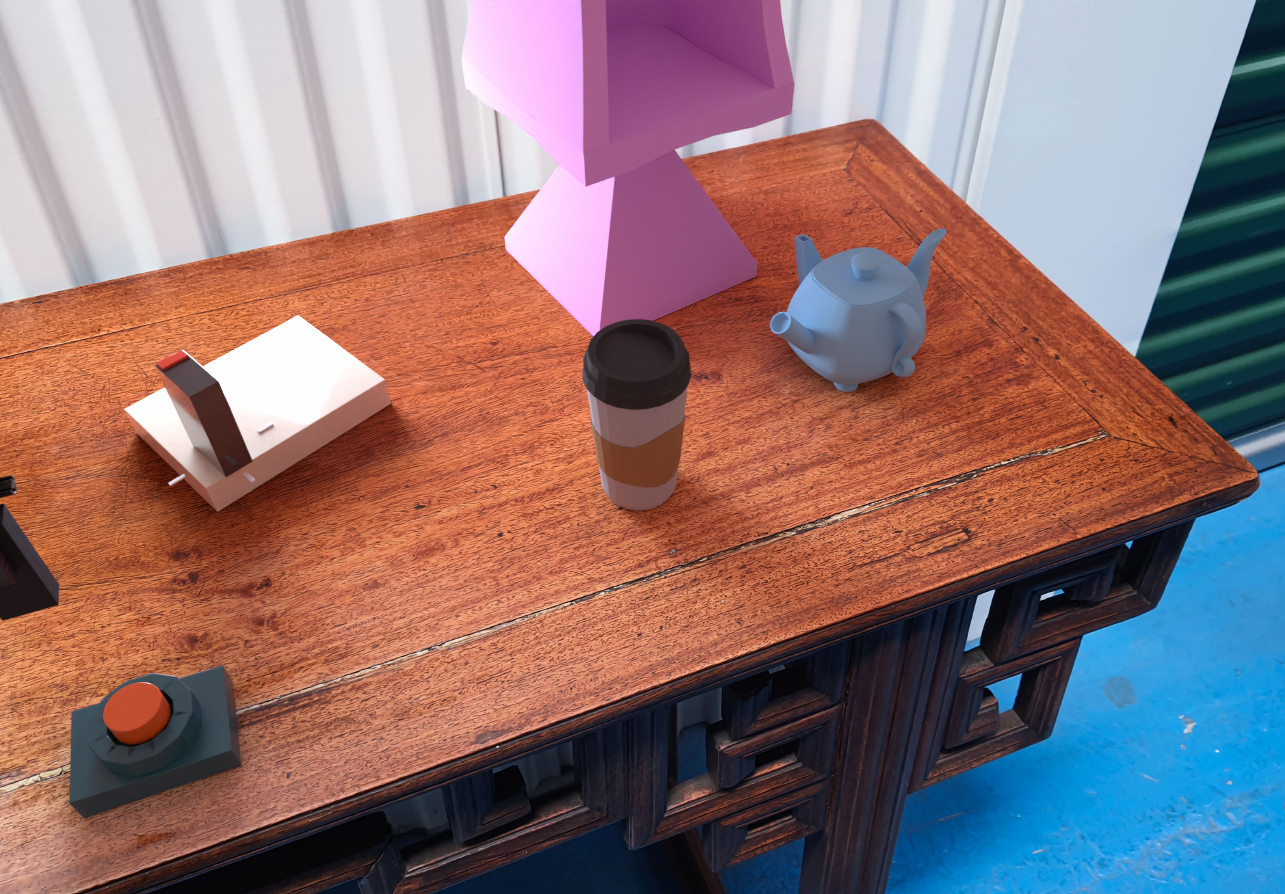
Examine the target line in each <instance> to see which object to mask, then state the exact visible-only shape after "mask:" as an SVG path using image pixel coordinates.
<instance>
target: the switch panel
mask: <svg viewBox="0 0 1285 894" xmlns="http://www.w3.org/2000/svg"><path fill="white" fill-rule="evenodd" d="M202 367H203V368H205V369H206V370H207V371H208V372H209V373H210V374H211V375H213V376H214V377H215V378H216V379H217V380H218V381H219V382H220V385H221V387H222V389H223V392H224V394H225V396H226V399H227V401H228V404H229V406H230V408H231V411H232V413H233V415H234V418H235V420H236V423H237V425H238V427H239V430H240V432H241V434H242V437H243V439H244V441H245V444H246V446H247V449H248V451H249V453H250V456H251V458H252V460H253V462H251V463H249V464H248V465H246V466H244V467H243V468H241V469H239V470H238V471H236V472H234V473H233V474H231V475H230V476H228V477H225V476H224V475H223V474H222V473H221V472H220V471H219V470H218V469H217V468H216V467H215V466H214V465H213V464H212V463H211V462H210V461H209V460H207V459H206V458H205V457H204V456H203V455H202V454H201V453H200V452H199V451H198V450H197V449H196V448H195V447H194V446H193V445H192V443H191V441H190V439H189V437H188V435H187V433H186V430H185V428H184V426H183V424H182V422H181V420H180V418H179V416H178V414H177V412H176V409H175V407H174V405H173V403H172V401H171V399H170V397H169V395H168V393H167V391H166V389H165V386H163V388H161V389H159V390H157V391H155V392H153V393H151V394H149V395H148V396H146V397H144V398H142V399H141V400H139V401H136V402H135V403H132V404H131V405H129V406H127V407H125V408H124V409H123V411H124V412H125V414H126V416H127V418H128V420H129V422H130V423H131V426H132V428H133V429H134V431H135V434H137V435H138V436H139V437H140V438H141V439H142V440H143V442H145V444H147V445H148V446H149V447H150V448H151V449H152V450H153V451H154V452H155V453H156V454H157V455H158V456H159V457H160V458H161V459H162V460H164V462H165V463H166V464H168V466H170V467H171V469H173V470H174V471H175V473H177V474H178V475H179V476H177V477H176V478H173V479H172V480H171V481H169V482H168V483H167V484H168V485H169V486H170V487H172V486H174V485H176V484H177V483H179V482H181V481H183V480H184V481H185V482H186V483H187V484H188V485H189V486H190V487H191V488H192V489H193V490H194V491H195V492H196V493H198V495H199V496H200V497H202V499H204V501H205V502H206V503H208V504H209V505H210V506H211V507H212V508H213V509H214V510H215V511H216V513H217V512H220V511H222V510H223V509H225V508H227V507H228V506H229V505H231V504H232V503H234V502H236V501H238V500H239V499H241V498H243V497H244V496H245V495H247V494H249V493H250V492H253V491H254V490H255V489H257V488H258V487H260V486H262V485H264V484H265V483H266V482H268V481H269V480H272V479H273V478H274V477H276V476H278V475H279V474H281V473H282V472H284V471H285V470H287V469H289V468H290V467H292V466H293V465H295V464H297V463H298V462H300V461H301V460H304V459H305V458H307V457H308V456H310V455H312V454H313V453H314V452H316V451H318V450H319V449H321V448H322V447H324V446H326V445H327V444H329V443H330V442H332V441H334V440H335V439H337V438H339V437H340V436H342V435H343V434H345V433H346V432H348V431H350V430H351V429H353V428H354V427H356V426H358V425H359V424H361V423H362V422H364V421H366V420H367V419H369V418H370V417H372V416H374V415H375V414H377V413H378V412H380V411H382V410H383V409H385V408H387V407H388V406H390V405H391V404H392V401H391V395H390V393H389V389H388V385H387V382H386V381H387V380H386V379H385V378H384V377H383V376H381V375H379V373H377V372H376V371H374V370H373V369H371V368H370V366H367V365H366V364H365V363H364V362H362V361H361V360H359V358H357V357H356V356H354V355H353V354H351V353H350V352H348V351H347V350H346V349H345V348H343V347H341V346H340V345H339V344H338V343H336V342H335V341H333V340H332V339H331V338H329V337H328V336H327V335H325V334H324V333H322V332H321V331H320V330H319V329H318V328H316V327H314V326H313V325H312V324H310V323H309V322H307V321H306V320H305V319H303V318H302V317H301V316H300V315H296V316H294V317H293V318H290V319H289V320H288V321H286V322H283V323H282V324H280V325H278V326H276V327H274V328H272V329H271V330H269V331H267V332H265V333H263V334H260V335H259V336H258V337H256V338H254V339H252V340H250V341H248V342H246V343H244V344H242V345H240V346H239V347H237V348H235V349H234V350H231V351H229V352H228V353H226V354H224V355H222V356H220V357H218V358H216V359H214V360H213V361H211V362H209V363H208V364H205V365H204V366H202Z"/></svg>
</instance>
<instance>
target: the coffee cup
mask: <svg viewBox="0 0 1285 894" xmlns="http://www.w3.org/2000/svg"><path fill="white" fill-rule="evenodd" d="M581 374H582V381H583V384H584V386H585V388H586V389H585V390H586V394H587V400H588V407H589V413H590V427H591V432H592V438H593V444H594V445H593V446H594V451H595V458H596V462H597V464H598V469H599V470H598V471H599V475H600V483H601V486H602V489H603V493H605V495H606V496H607V497H608V498H609V499H610V500H611V502H613V504H616V505H617V506H618V507H621V508H623V509H625V510H629V511H630V510H631V511H637V512H638V511H649V510H652V509H655V508H657V507H659V506H661V505H662V504H664V503H665V502H666V501H667V500H669V498H670V497H671V496H672V495H673V493H674V491H675V490H676V486H677V484H678V483H677V482H678V474H679V467H680V466H679V465H680V461H681V457H682V447H683V439H684V432H685V431H684V430H685V421H686V404H687V396H688V386H689V385H690V383H691V378H692V368H691V359H690V353H689V350H688V349H687V347H686V346H685V343H684V341H683V339H682V337H681V335H680V334H679V333H678V332H676V331H675V329H673V328H672V327H670V326H668V325H666V324H664V323H661V322H658V321H655V320H653V321H652V320H644V319H630V320H624V321H619V322H615V323H613V324H610V325H608V326H606V327H604V328H603V329H601V330H600V331H598V332H597V333H596V334H595V335H594V336H593V335H592V338H590V340H589V343H588V346H587V348H586V349H585V353H584V356H583V359H582V373H581Z"/></svg>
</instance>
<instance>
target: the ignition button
mask: <svg viewBox="0 0 1285 894" xmlns="http://www.w3.org/2000/svg"><path fill="white" fill-rule="evenodd" d="M170 712H171V710H170V705H169V703H168V702H167V700H166V699H165V697H164V696H163V694H162V693H161V691H160V690H159V689H158V688H157V687H156V686H155V685H153V684H150V683H145V682H139V683H134V684H130V685H128V686H126V687H124V688H122V689H120V690H119V691H117V692H116V693H115V694H114V695H113V696H112V697H111V698H110V699H109V701H108V702H107V704H106V706H105V709H104V713H103V719H104V722H105V724H106V726H107V727H108V728H109V729H110V731H111V732H112V733H113V734H114V736H115V737H116V738H117V739H118V740H119V741H120V742H122V743H125V744H140V743H144V742H146V741H149V740H151V739H152V738H154V737H155V736H157V735H158V734H159V733H160V732H161V731H162V730H163V729H164V728H165V726H166V725H167V723H168V721H169V718H170Z"/></svg>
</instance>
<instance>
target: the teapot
mask: <svg viewBox="0 0 1285 894" xmlns="http://www.w3.org/2000/svg"><path fill="white" fill-rule="evenodd" d="M946 234H947V229H946V228H944V227H942V228H938V229H935V230H933V231H931V232H930V233H929V234H928V235H927V236H926V237H924V239H923V240H922V241H921V242H920V244H919V246H918V247H917V249H916V251H915V252H914V254H913V256H912V257H911V259H910V261H909V262H908V264H907V265H905V264H903V263H902V262H901V261H899V260H898V259H896V258H895V257H893V256H892V255H890V254H888V253H887V252H885V251H883V250H881V249H878V248H876V247H869V246H865V247H863V246H862V247H856V248H851V249H847V250H843V251H840V252H838V253H834V254H833V255H830V256H828V257H827V258H825V259H823V258H822V257H821V254H820V252H819V251H818V249H817V247H816V245H815V243H814V242H813V241H814V239H813V238H811V237H809V236H808V235H806V233H802V234H799V235H796V236H794V237H793V238H794V239H793V240H794V250H795V251H794V252H795V259H796V269H797V280H798V287H797V289H796V291H795V292H794V294H793V295H792V298H791V300H790V302H789V304H788V307H787V309H786V311H779V312H776V313H775V314H774V315H773V316H772V317H771V319H770V322H769V328H770V331H771V332H772V333H774V334H775V335H776V336H778V337H780V338H782V339H783V340H785V341H786V342H787V343H788V345H789V347H790V348H791V349H792V351H793V353H795V355H796V356H797V357H798V358H799V359H800V360H801V361H802V362H803V363H804V364H805V365H807V366H808V367H809V368H810V369H812V370H813V371H814V372H815V373H816V374H818V375H819V376H821V377H823V378H825V379H826V380H828V381H830V382H832V383H833V386H834V387H835V388H836V389H837V390H838V391H840V392H844V393H851V392H854V391H856V390H857V389H858V387H859V384H864V383H867V382H872V381H875V380H878V379H880V378H884V377H886V376H888V375H889V374H891V373H893V375H895V376H897V377H899V378H909V377H911V376H912V375H913V374H914V373H915V371H916V365H915V361H913V359H912V358H913V357H914V356H915V355H916V354H917V353H918V351H919V350H920V348H921V347H922V346H923V344H924V341H925V337H926V331H927V330H926V329H927V311H926V305H925V301H924V296H925V294H926V291H927V288H928V284H929V278H930V272H931V265H932V259H933V256H934V253H935V251H936V249H937V247H938V246H939V244H940V243H941V241H942V240H943V239H944V238H945V236H946Z"/></svg>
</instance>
